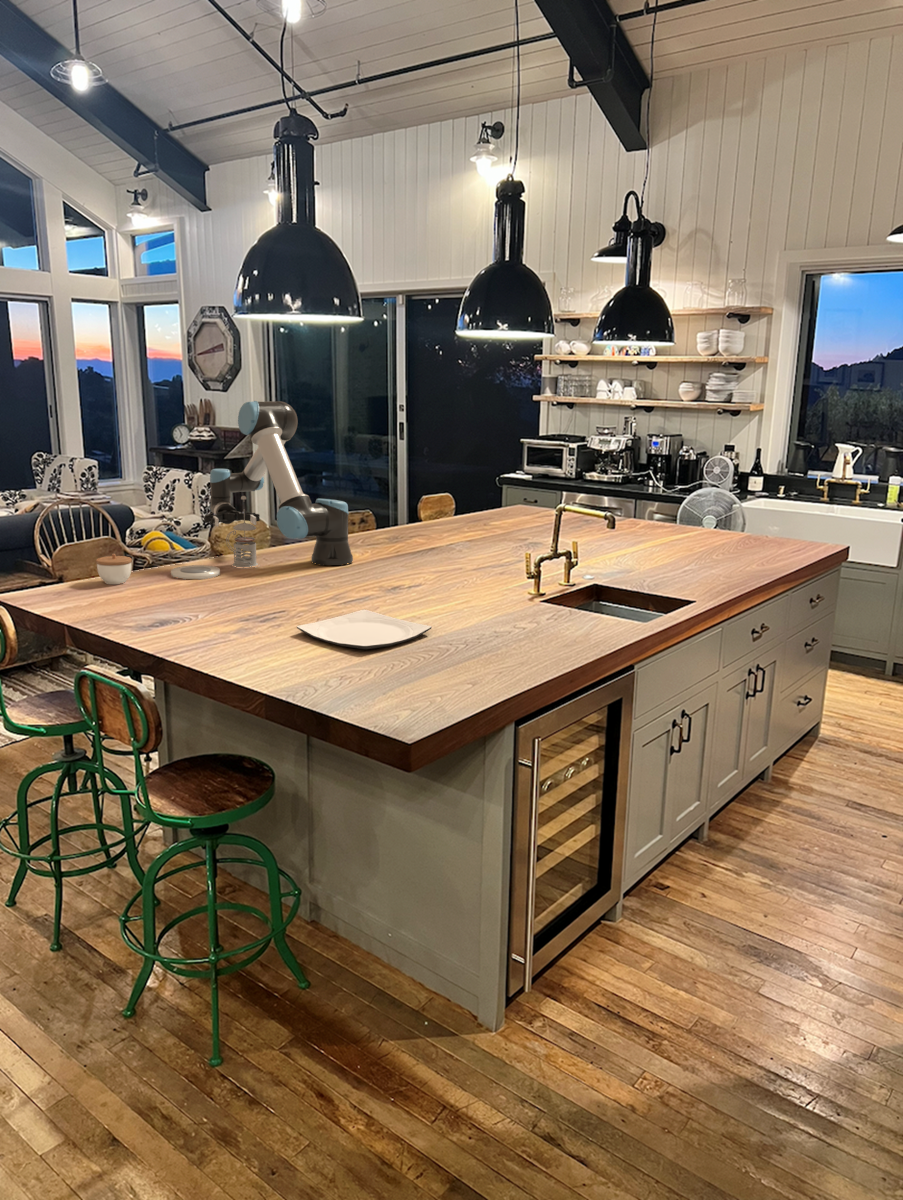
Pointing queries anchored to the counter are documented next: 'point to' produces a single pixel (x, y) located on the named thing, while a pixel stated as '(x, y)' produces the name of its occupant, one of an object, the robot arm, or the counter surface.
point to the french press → (244, 546)
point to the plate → (364, 630)
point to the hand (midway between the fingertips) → (236, 521)
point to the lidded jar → (114, 568)
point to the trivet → (195, 572)
